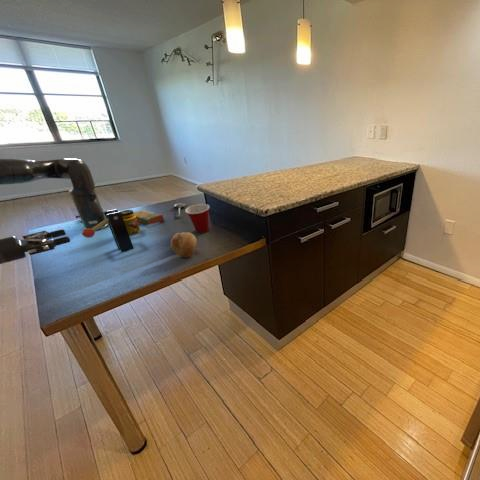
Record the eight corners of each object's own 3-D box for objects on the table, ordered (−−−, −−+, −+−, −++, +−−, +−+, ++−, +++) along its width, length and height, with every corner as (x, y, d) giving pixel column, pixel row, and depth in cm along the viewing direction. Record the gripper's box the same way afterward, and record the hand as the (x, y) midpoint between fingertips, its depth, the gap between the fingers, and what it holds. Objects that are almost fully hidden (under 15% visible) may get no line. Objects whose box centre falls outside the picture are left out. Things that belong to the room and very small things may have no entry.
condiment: (143, 236, 122) (134, 212, 116) (121, 240, 117) (111, 216, 112) (142, 230, 127) (134, 207, 122) (121, 235, 123) (112, 211, 117)
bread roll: (172, 262, 102) (167, 244, 98) (174, 245, 114) (169, 229, 110) (199, 257, 105) (195, 239, 102) (198, 241, 117) (194, 225, 114)
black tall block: (113, 260, 102) (95, 219, 94) (106, 253, 108) (89, 213, 99) (146, 249, 110) (133, 210, 102) (139, 243, 116) (126, 205, 108)
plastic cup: (185, 233, 125) (179, 209, 120) (202, 224, 134) (197, 202, 129) (202, 237, 122) (197, 213, 116) (218, 228, 131) (214, 205, 125)
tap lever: (88, 240, 97) (80, 234, 94) (86, 237, 99) (78, 231, 96) (121, 218, 102) (114, 211, 100) (119, 216, 105) (111, 209, 102)
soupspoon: (187, 206, 161) (175, 207, 159) (185, 200, 159) (173, 202, 157) (185, 217, 143) (172, 219, 140) (184, 211, 141) (170, 213, 139)
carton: (145, 216, 144) (143, 209, 142) (164, 221, 137) (162, 214, 136) (129, 221, 137) (127, 214, 135) (149, 227, 131) (147, 219, 129)
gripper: (-7, 248, 76) (66, 231, 87) (-8, 234, 84) (58, 220, 95) (7, 270, 80) (75, 250, 91) (4, 254, 88) (67, 238, 99)
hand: (67, 235), depth 93 cm, fingers open, 8 cm apart
